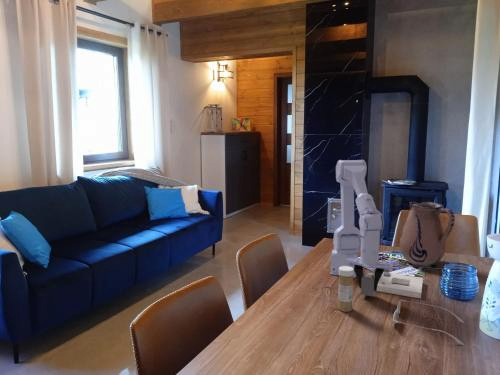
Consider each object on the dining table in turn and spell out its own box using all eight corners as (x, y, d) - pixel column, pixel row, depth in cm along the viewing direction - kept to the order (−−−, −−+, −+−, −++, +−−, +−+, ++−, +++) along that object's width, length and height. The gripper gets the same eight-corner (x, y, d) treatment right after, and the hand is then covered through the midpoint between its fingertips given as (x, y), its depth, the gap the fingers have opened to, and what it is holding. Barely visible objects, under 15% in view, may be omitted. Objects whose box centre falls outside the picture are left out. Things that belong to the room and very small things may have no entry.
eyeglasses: (399, 309, 124) (399, 297, 123) (464, 322, 115) (465, 309, 114) (391, 331, 110) (392, 318, 110) (464, 348, 102) (465, 334, 101)
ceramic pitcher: (409, 253, 175) (413, 198, 171) (460, 265, 160) (465, 205, 156) (390, 262, 164) (393, 203, 160) (442, 276, 148) (447, 211, 144)
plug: (360, 294, 130) (361, 275, 129) (362, 289, 134) (363, 271, 133) (373, 296, 129) (374, 277, 127) (375, 291, 132) (375, 273, 131)
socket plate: (376, 291, 136) (377, 283, 135) (382, 276, 148) (382, 270, 148) (420, 298, 130) (421, 291, 129) (422, 283, 142) (423, 276, 142)
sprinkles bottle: (346, 304, 126) (347, 264, 124) (355, 310, 122) (357, 269, 120) (334, 307, 124) (335, 266, 122) (343, 313, 120) (345, 271, 118)
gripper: (345, 249, 128) (343, 289, 131) (391, 256, 122) (389, 297, 124) (349, 243, 135) (348, 281, 137) (394, 249, 128) (392, 288, 131)
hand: (368, 288), depth 131 cm, fingers closed on plug, 4 cm apart
